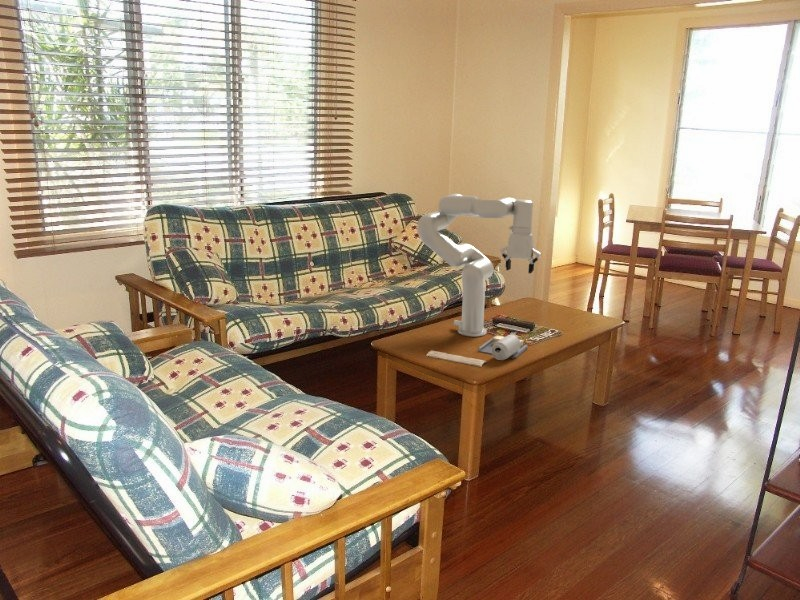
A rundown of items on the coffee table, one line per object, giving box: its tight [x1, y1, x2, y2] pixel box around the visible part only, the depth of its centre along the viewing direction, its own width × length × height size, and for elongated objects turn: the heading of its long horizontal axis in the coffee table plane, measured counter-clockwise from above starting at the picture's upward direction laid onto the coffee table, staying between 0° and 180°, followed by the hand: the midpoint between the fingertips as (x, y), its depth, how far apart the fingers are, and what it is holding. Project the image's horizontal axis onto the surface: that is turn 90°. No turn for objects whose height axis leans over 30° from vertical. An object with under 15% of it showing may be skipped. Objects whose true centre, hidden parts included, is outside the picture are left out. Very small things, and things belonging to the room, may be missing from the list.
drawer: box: [477, 337, 529, 359], centre depth 290 cm, size 16×14×2 cm
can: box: [491, 334, 521, 361], centre depth 281 cm, size 8×8×12 cm
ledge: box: [492, 335, 524, 349], centre depth 294 cm, size 12×4×3 cm, turn 61°
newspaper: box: [426, 350, 488, 368], centre depth 280 cm, size 24×7×2 cm, turn 62°
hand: (519, 271), depth 294 cm, fingers open, 9 cm apart
